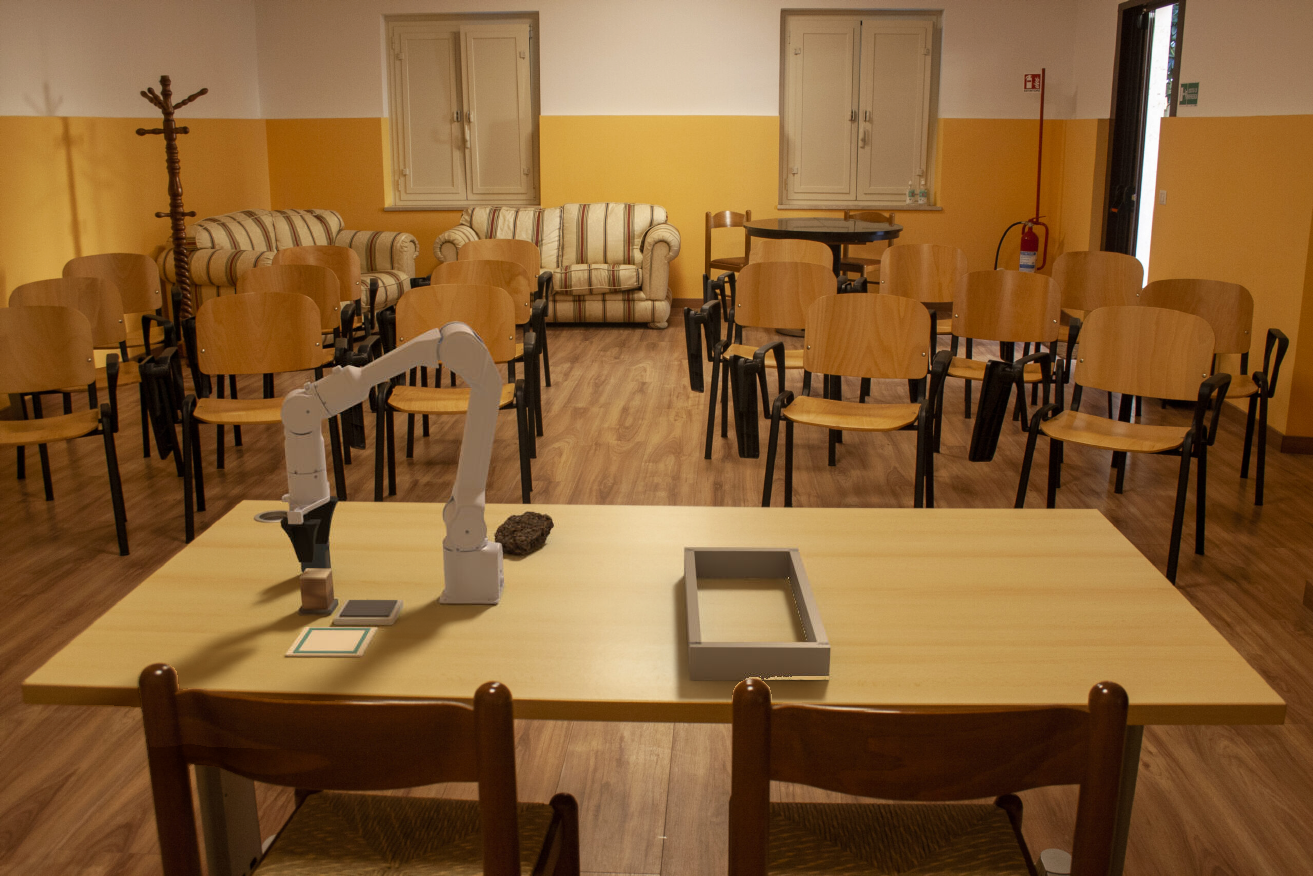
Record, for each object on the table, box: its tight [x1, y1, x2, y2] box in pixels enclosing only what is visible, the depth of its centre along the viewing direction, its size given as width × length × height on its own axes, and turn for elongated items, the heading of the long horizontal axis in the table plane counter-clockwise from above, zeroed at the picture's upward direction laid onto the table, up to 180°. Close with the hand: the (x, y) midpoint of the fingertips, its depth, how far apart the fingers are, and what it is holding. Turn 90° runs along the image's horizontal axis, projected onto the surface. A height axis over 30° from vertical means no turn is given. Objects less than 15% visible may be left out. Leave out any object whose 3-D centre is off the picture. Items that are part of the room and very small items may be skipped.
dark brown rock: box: [493, 510, 555, 556], centre depth 201 cm, size 12×10×5 cm
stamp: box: [298, 568, 339, 616], centre depth 173 cm, size 5×4×6 cm
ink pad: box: [333, 599, 404, 626], centre depth 171 cm, size 9×7×1 cm
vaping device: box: [300, 539, 332, 574], centre depth 185 cm, size 3×5×12 cm, turn 78°
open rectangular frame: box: [683, 546, 832, 681], centre depth 169 cm, size 19×37×5 cm, turn 0°
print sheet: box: [285, 626, 379, 658], centre depth 162 cm, size 11×9×1 cm
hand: (313, 552), depth 171 cm, fingers open, 7 cm apart
